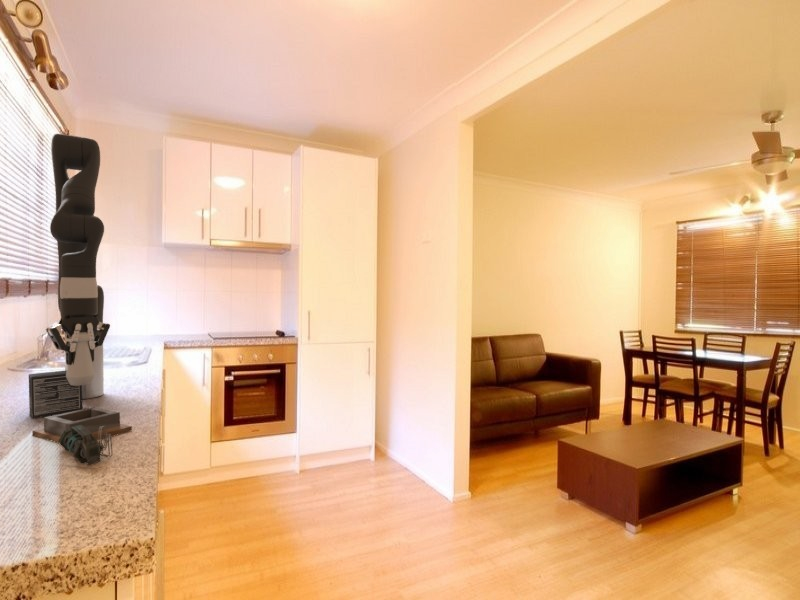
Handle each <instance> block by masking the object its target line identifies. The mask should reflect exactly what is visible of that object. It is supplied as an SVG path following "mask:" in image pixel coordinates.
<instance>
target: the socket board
mask: <svg viewBox="0 0 800 600" xmlns="http://www.w3.org/2000/svg"><path fill="white" fill-rule="evenodd" d="M120 414H121V413H120V411H115V410H110V409H107V408H101V407H96V406H91V407H87V408H83V409H82V410H77V411H72V412H68V413H63V414H58V415H52V416H46V417H43V427H42V428H37V429H34V430H32V436H34V437H37V438H41V439H44V440H47V439H48V440H47V441H50V440H52V441H51V442H54V441H55V442H54V443H57V442H58V441H59V439H60V437H61V435H62V434H63V432H64V430H67V429H71V427H74V426H77V425H82V426H83V427H85V428H86V429H87V430H89V431H90V432H91V433H92V434H93V436H94V437H95V438H96V440H98V441H99V439H98V431H99V428H100V427H101V426H104V427H105V428H106V431H107V434H108V435H109V434H111V437H114V435H115V436H118V435H121V433H122V434H125V433H129V432H132V431H133V430H132V429H133V427H132V425H128V424H122V423H121V415H120ZM104 427H103V428H104ZM103 428H102V430H101V428H100V430H101V439H102V440H104V439H103V438H104V431H105V429H104V431H103ZM131 430H132V431H131ZM128 431H129V432H128ZM117 434H118V435H117ZM99 438H100V432H99ZM107 438H108V436H107ZM105 439H106V432H105ZM57 444H60V443H59V442H58V443H57Z"/></svg>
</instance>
